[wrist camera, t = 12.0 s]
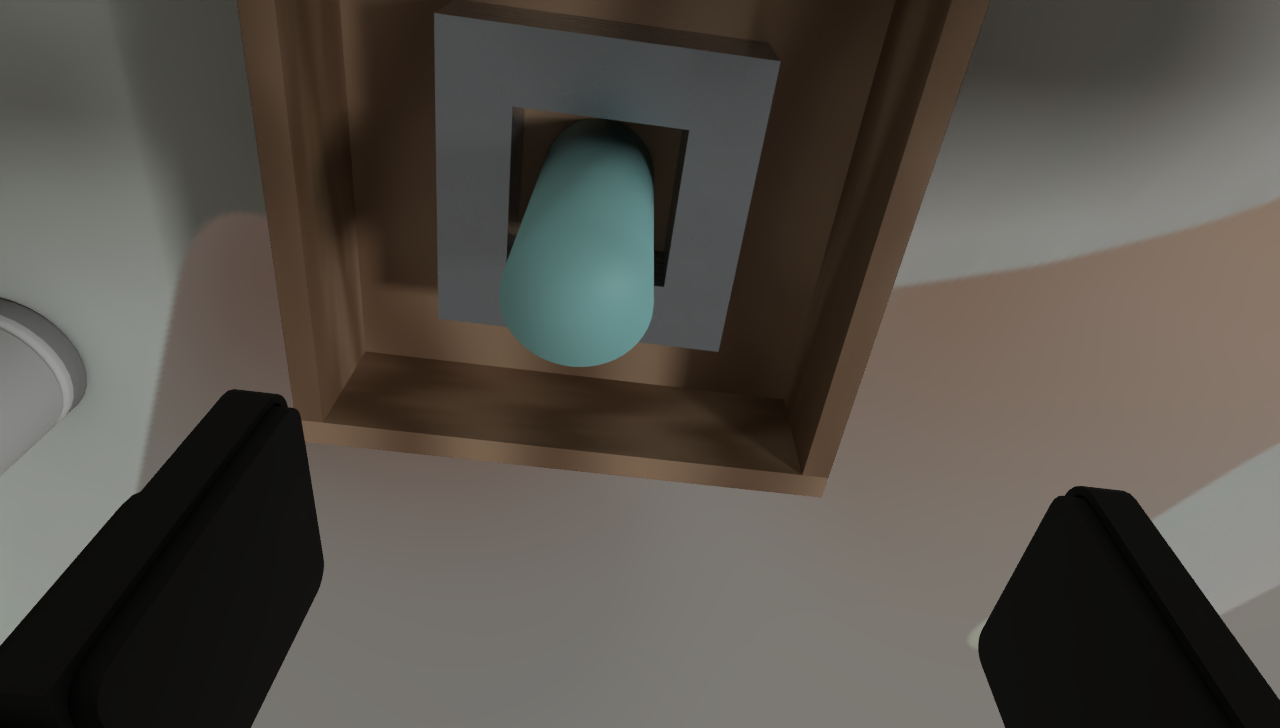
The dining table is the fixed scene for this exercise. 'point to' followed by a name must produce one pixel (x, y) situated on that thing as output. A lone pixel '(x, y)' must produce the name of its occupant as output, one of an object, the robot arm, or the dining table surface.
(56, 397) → the travel mug
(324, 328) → the box
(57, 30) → the dining table surface
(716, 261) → the bore plate
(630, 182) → the peg
